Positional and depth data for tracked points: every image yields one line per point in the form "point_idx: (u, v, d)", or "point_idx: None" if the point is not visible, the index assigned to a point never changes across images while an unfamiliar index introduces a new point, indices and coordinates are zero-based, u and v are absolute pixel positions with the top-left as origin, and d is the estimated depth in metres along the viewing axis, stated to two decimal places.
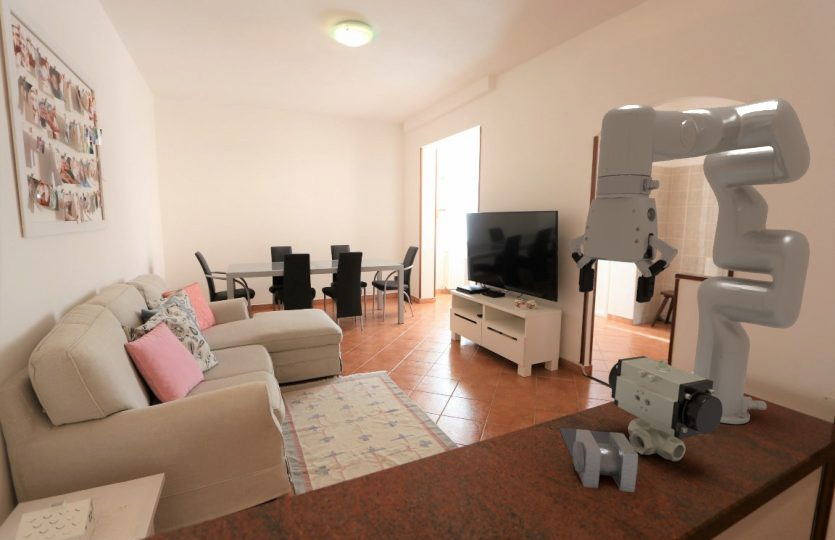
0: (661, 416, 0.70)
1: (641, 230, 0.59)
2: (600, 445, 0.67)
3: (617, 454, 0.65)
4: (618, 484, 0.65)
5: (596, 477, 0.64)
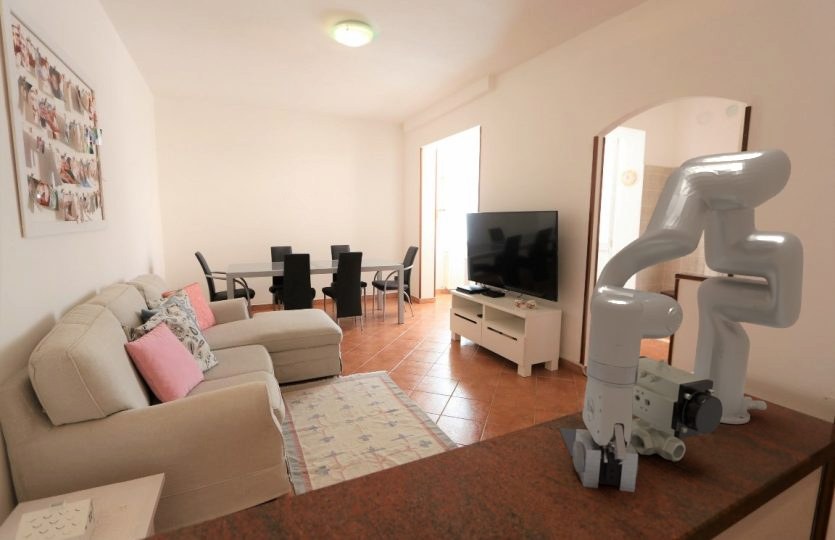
0: (661, 416, 0.70)
1: None
2: None
3: None
4: None
5: (596, 477, 0.64)
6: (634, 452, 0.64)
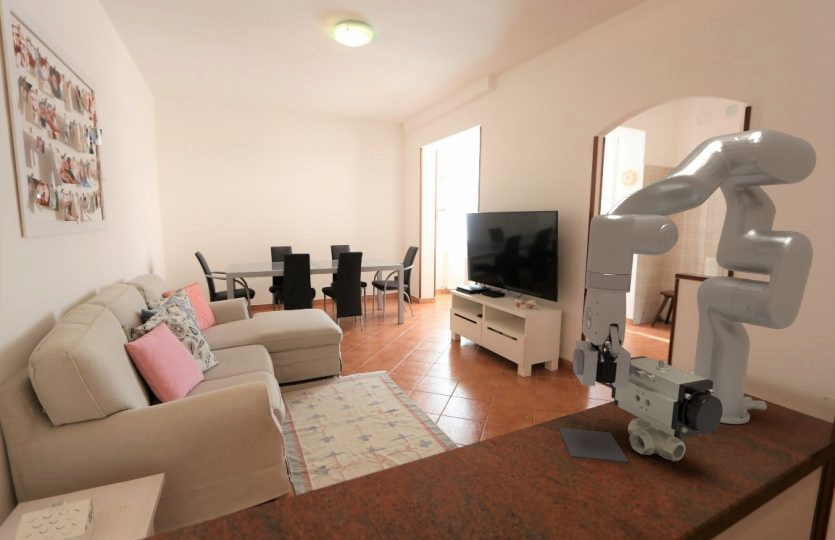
0: (661, 415, 0.70)
1: None
2: (597, 350, 0.75)
3: None
4: None
5: (593, 376, 0.72)
6: (627, 352, 0.72)
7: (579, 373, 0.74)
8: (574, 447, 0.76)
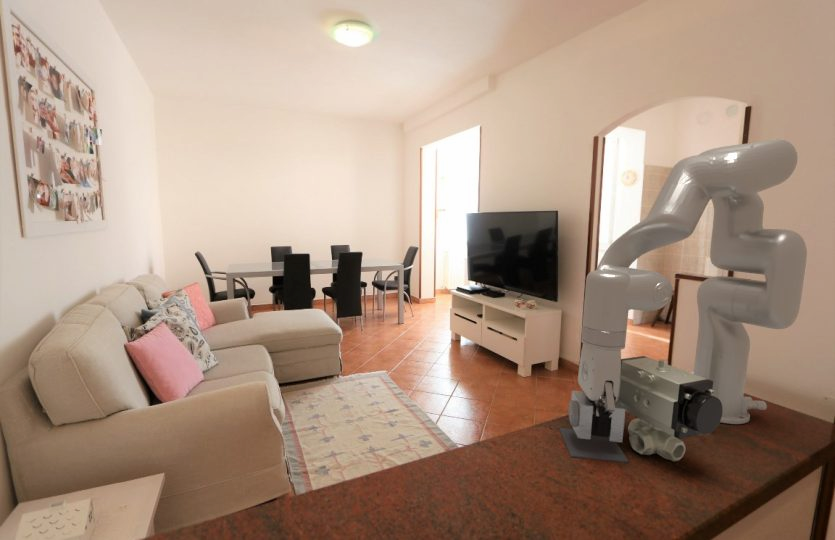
0: (661, 416, 0.70)
1: None
2: (592, 403, 0.76)
3: None
4: None
5: (589, 429, 0.74)
6: (622, 407, 0.73)
7: (575, 425, 0.76)
8: (574, 447, 0.76)
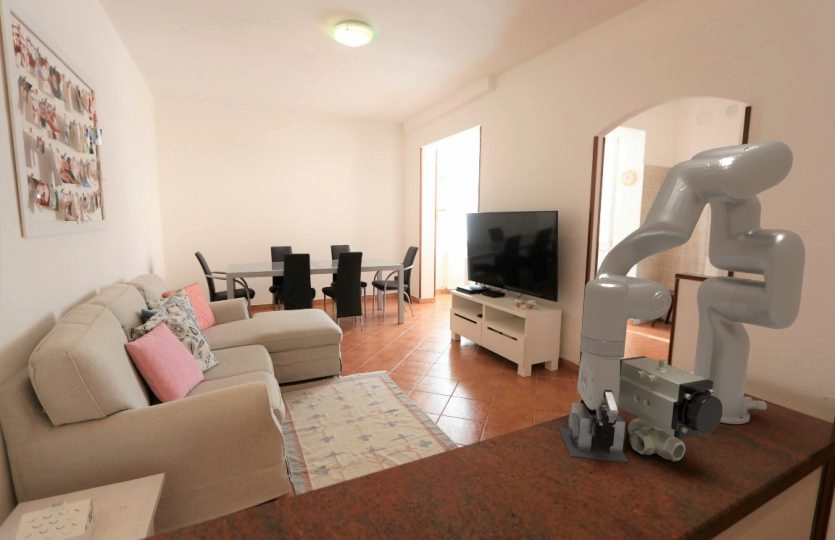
0: (661, 416, 0.70)
1: None
2: (592, 415, 0.77)
3: None
4: (608, 448, 0.75)
5: (589, 442, 0.74)
6: (622, 420, 0.73)
7: (575, 438, 0.76)
8: (574, 447, 0.76)
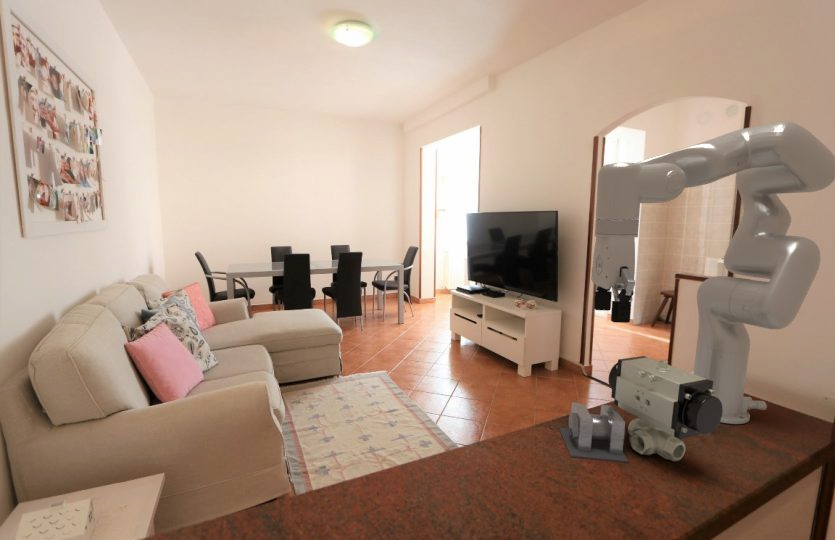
0: (661, 416, 0.70)
1: None
2: (592, 415, 0.77)
3: (607, 422, 0.75)
4: (608, 448, 0.75)
5: (589, 442, 0.74)
6: (622, 420, 0.73)
7: (575, 438, 0.76)
8: (574, 447, 0.76)
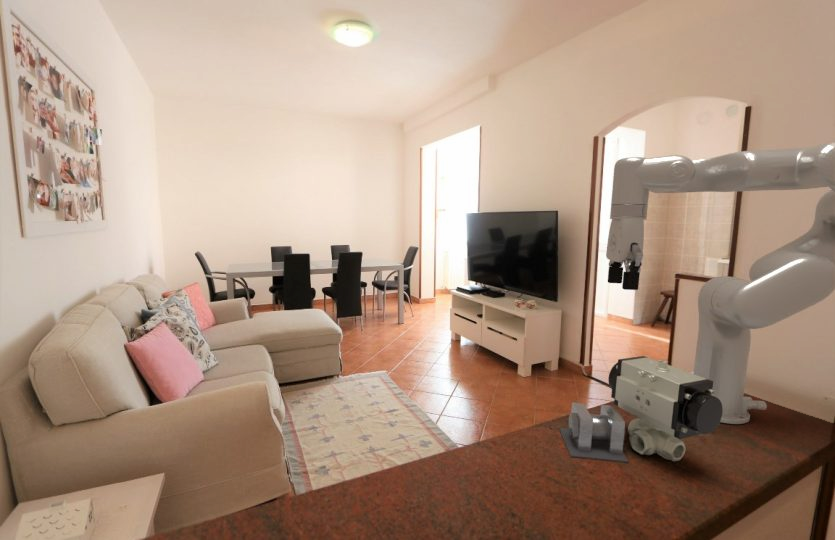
0: (661, 416, 0.70)
1: None
2: (592, 415, 0.77)
3: (607, 422, 0.75)
4: (608, 448, 0.75)
5: (589, 442, 0.74)
6: (622, 420, 0.73)
7: (575, 438, 0.76)
8: (574, 447, 0.76)
